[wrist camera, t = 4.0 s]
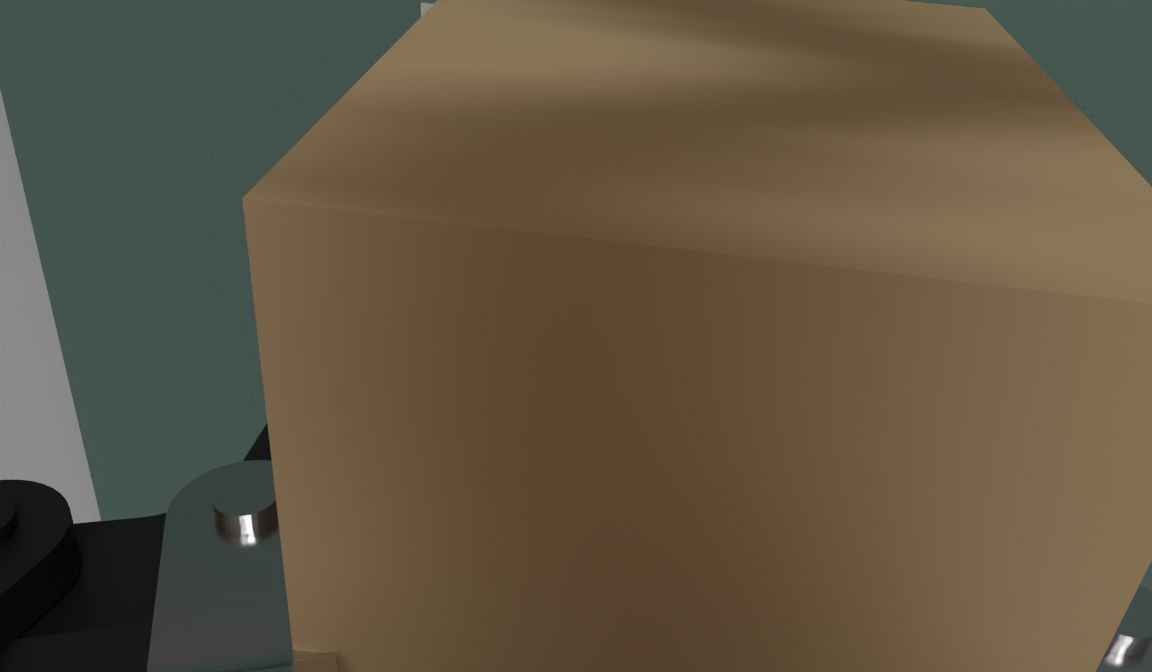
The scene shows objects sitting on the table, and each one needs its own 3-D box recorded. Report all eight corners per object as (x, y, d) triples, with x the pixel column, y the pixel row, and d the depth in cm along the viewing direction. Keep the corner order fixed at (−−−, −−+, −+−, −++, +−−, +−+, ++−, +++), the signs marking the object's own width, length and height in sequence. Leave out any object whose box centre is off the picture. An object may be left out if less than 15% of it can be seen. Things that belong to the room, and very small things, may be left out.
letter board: (1802, -384, 8) (1854, -390, 8) (1105, 820, 16) (1114, 845, 16) (-113, -522, 9) (-146, -532, 9) (154, 680, 17) (142, 700, 17)
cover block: (985, 9, 10) (1274, 318, 5) (807, 644, 15) (858, 1141, 10) (478, -42, 10) (242, 198, 5) (466, 597, 15) (337, 1052, 10)
